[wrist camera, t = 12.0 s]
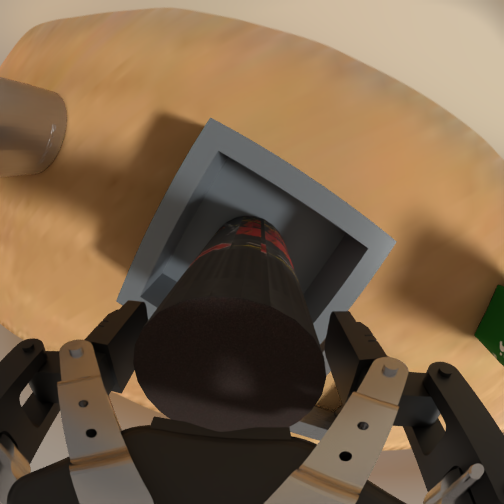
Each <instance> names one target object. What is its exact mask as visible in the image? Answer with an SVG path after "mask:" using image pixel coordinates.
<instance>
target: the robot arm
mask: <svg viewBox="0 0 504 504" xmlns="http://www.w3.org/2000/svg"><path fill="white" fill-rule="evenodd" d="M66 123H67V113H66V107H65V103H64V101H63V99H62V98H61V97H60V96H59V95H58V94H57V93H55V92H52V91H49V90H46V89H42V88H39V87H35V86H32V85H29V84H25V83H21V82H18V81H14V80H10V79H5V78H1V77H0V177H9V176H19V175H30V174H37V173H40V172H42V171H43V170H45V169H46V168H47V167H48V166H49V165H50V164H51V163H52V162H53V160H54V159H55V157H56V156H57V154H58V152H59V150H60V148H61V145H62V142H63V139H64V135H65V131H66ZM147 321H148V315H147V307H146V304H145V302H141V301H131V300H128V301H127V302H126V303H125V304H124V305H123V306H122V307H121V308H120V309H119V310H115V311H114V312H112V313H110V314H108V315H107V316H106V317H105V318H104V319H103V321H101V323H100V324H99V325H98V326H97V327H96V328H95V329H94V330H93V331H92V332H91V333H90V334H89V335H88V337H87V338H86V339H85V340H73V341H70V342H67V343H66V344H64V345H63V346H62V347H61V348H60V351H45V348H44V345H43V343H42V341H41V340H38V339H27V340H24V341H22V342H20V343H19V344H17V346H16V347H14V348H13V349H12V350H11V351H10V352H9V353H8V354H7V355H6V356H5V358H3V360H1V362H0V504H406V503H404V502H402V501H401V500H399V499H397V498H396V497H394V496H392V495H391V494H389V493H387V492H386V491H384V490H383V489H381V488H379V487H378V486H376V485H375V484H373V483H372V482H370V481H369V480H367V479H368V477H369V475H370V473H371V471H372V470H373V467H374V465H375V463H376V461H377V459H378V457H379V455H380V453H381V451H382V449H383V446H384V444H385V442H386V440H387V437H388V435H389V432H390V430H391V427H392V425H393V426H403V428H404V430H405V433H406V435H407V438H408V440H409V442H410V445H411V448H412V450H413V453H414V455H415V458H416V460H417V463H418V466H419V469H420V471H421V474H422V477H423V480H424V482H425V485H426V488H427V491H428V493H427V494H426V496H425V498H424V501H423V504H504V435H503V433H502V432H501V430H500V429H499V427H498V425H497V424H496V422H495V421H494V419H493V418H492V416H491V415H490V414H489V412H488V411H487V409H486V408H485V406H484V405H483V403H482V402H481V401H480V399H479V398H478V396H477V395H476V394H475V392H474V391H473V390H472V388H471V387H470V385H469V384H468V383H467V381H466V380H465V379H464V378H463V376H462V375H461V374H460V372H459V371H458V370H457V369H456V368H455V367H454V366H452V365H451V364H448V363H445V362H435V363H432V364H431V365H430V366H429V368H428V370H427V372H426V373H416V372H409V371H408V368H407V366H406V365H405V364H404V363H403V362H401V361H400V360H398V359H395V358H391V357H387V355H386V354H385V352H384V350H383V349H382V347H381V346H380V344H379V343H378V341H376V338H375V337H374V336H373V334H372V332H371V331H370V330H369V328H368V327H367V326H365V325H364V324H362V323H361V322H356V321H355V319H354V318H353V316H352V315H351V313H350V312H349V311H332V312H331V314H330V319H329V324H328V330H327V335H326V340H325V356H326V359H327V361H328V364H329V367H330V370H331V373H332V375H333V378H334V381H335V384H336V387H337V390H338V393H339V396H340V399H341V402H342V404H343V409H342V410H341V412H340V413H339V415H338V416H337V418H336V419H335V421H334V422H333V424H332V425H331V427H330V428H329V430H328V431H327V432H326V434H325V435H324V437H323V438H322V439H321V441H320V442H319V443H318V445H317V444H315V443H313V442H310V441H307V440H304V439H301V438H297V437H292V436H291V434H290V427H254V428H247V429H241V430H233V431H225V432H217V431H214V430H210V429H207V428H204V427H200V426H197V425H194V424H191V423H188V422H185V421H178V420H172V419H165V418H160V417H154V418H153V421H152V423H151V425H145V426H137V427H132V428H129V429H125V430H123V431H122V429H121V426H120V424H119V421H118V419H117V416H116V414H115V411H114V408H113V406H112V403H111V400H110V397H109V394H110V392H111V391H114V392H118V393H122V392H123V390H124V388H125V386H126V384H127V383H128V381H129V379H130V377H131V375H132V374H133V372H134V370H135V369H134V365H133V360H134V347H135V343H136V341H137V339H138V337H139V335H140V333H141V331H142V329H143V327H144V326H145V324H146V323H147ZM28 383H29V385H30V387H31V389H32V391H33V393H32V394H31V395H30V397H29V398H28V399H27V401H26V402H25V404H24V405H23V406H22V407H21V405H20V401H19V397H20V394H21V392H22V391H23V389H24V388H25V387H26V385H27V384H28ZM59 411H61V418H62V423H63V429H64V434H65V439H66V444H67V448H68V452H69V457H67V458H65V459H63V460H61V461H58V462H56V463H54V464H51V465H49V466H46V467H44V468H42V469H39V470H36V471H34V472H31V473H30V471H31V469H30V463H31V461H32V459H33V457H34V455H35V453H36V452H37V450H38V448H39V446H40V444H41V442H42V440H43V439H44V437H45V435H46V433H47V432H48V430H49V428H50V426H51V425H52V423H53V421H54V419H55V418H56V416H57V414H58V413H59ZM440 413H441V415H442V417H443V419H444V421H445V423H446V432H445V430H444V428H443V426H442V425H441V423H440V421H439V419H438V417H439V415H440Z"/></svg>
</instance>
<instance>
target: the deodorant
mask: <svg viewBox="0 0 504 504" xmlns="http://www.w3.org/2000/svg"><path fill="white" fill-rule="evenodd" d="M133 365H134V369H135V373H136V376H137V380H138V383H139V384H140V386H141V388H142V390H143V391H144V393H145V395H146V396H147V398H148V399H149V400H150V401H151V402H152V403H153V404H154V405H155V407H156V408H157V409H158V410H159V411H160V412H161V413H163V414H164V415H166V416H167V417H169V418H170V419H172V420H178V421H185V422H188V423H191V424H194V425H197V426H200V427H204V428H207V429H210V430H214V431H217V432H225V431H233V430H241V429H247V428H254V427H290V426H292V425H294V424H296V423H297V422H299V421H300V420H301V419H302V418H303V417H304V416H306V415H307V414H308V413H309V412H310V411H311V410H312V409H313V407H314V406H315V404H316V403H317V401H318V400H319V398H320V397H321V395H322V392H323V388H324V384H325V380H326V369H325V361H324V356H323V352H322V349H321V346H320V343H319V340H318V337H317V334H316V331H315V328H314V325H313V322H312V319H311V316H310V313H309V310H308V307H307V304H306V302H305V299H304V296H303V293H302V290H301V287H300V284H299V281H298V279H297V276H296V273H295V270H294V267H293V265H292V262H291V259H290V256H289V253H288V251H287V248H286V245H285V243H284V240H283V238H282V236H281V234H280V232H279V231H278V230H277V229H276V228H275V227H274V226H273V225H272V224H271V223H269V222H268V221H266V220H265V219H262V218H259V217H255V216H241V217H237V218H234V219H232V220H230V221H228V222H226V223H225V224H224V225H223V226H222V227H221V228H220V229H219V230H218V231H217V232H216V233H215V235H214V236H213V237H212V238H211V240H210V241H209V242H208V243H207V245H206V246H205V247H204V248H203V250H202V251H201V252H200V253H199V255H198V256H197V257H196V258H195V260H194V261H193V262H192V264H191V265H190V266H189V267H188V269H187V270H186V271H185V273H184V274H183V275H182V276H181V278H180V279H179V280H178V282H177V283H176V284H175V286H174V287H173V288H172V289H171V291H170V292H169V293H168V295H167V296H166V297H165V299H164V300H163V301H162V303H161V304H160V305H159V307H158V308H157V309H156V311H155V312H154V313H153V315H152V316H151V317H150V319H149V320H148V321H147V323H146V324H145V326H144V327H143V329H142V331H141V333H140V335H139V337H138V339H137V341H136V343H135V347H134V360H133Z"/></svg>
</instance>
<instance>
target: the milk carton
mask: <svg viewBox="0 0 504 504" xmlns="http://www.w3.org/2000/svg"><path fill="white" fill-rule="evenodd" d="M474 335H475V336H476V337H477V338H478V340H479V341H480V342H481V343H482V344H483V345H484V346H485V347H486V348H487V349H488V350H489V351H490V352H491V354H492V355H493V356H494V357H495V358H496V359H497V360H498V361H499V362H500V363H501V364H502V365H503V366H504V286H501V285H498V286H497V288H496V290H495V293H494V295H493V297H492V300H491V302H490V304H489V306H488V308H487V311H486V313H485V315H484V317H483V319H482V321H481V323H480V325H479V327H478V329H477V331H476V332H475V334H474Z"/></svg>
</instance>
